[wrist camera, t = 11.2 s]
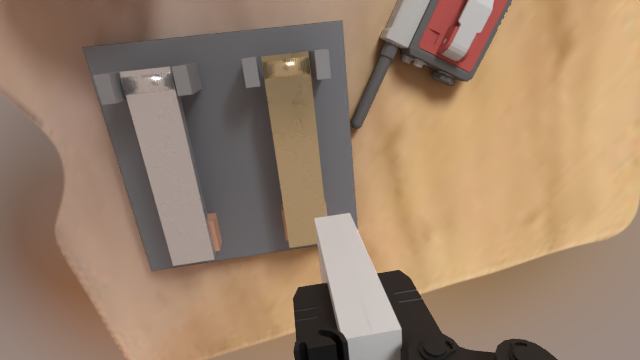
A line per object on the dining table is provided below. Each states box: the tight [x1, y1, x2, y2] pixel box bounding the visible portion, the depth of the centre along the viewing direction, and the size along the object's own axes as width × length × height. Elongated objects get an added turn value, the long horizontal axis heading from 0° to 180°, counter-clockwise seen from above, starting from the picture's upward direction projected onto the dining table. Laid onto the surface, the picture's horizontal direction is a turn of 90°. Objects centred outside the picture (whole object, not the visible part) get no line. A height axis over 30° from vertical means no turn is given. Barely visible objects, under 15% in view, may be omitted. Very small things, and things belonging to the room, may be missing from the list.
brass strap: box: [261, 51, 326, 248], centre depth 30 cm, size 16×4×2 cm, turn 6°
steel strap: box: [119, 66, 216, 266], centre depth 29 cm, size 16×4×2 cm, turn 6°
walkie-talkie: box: [351, 0, 512, 129], centre depth 31 cm, size 9×4×20 cm
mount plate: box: [83, 20, 358, 271], centre depth 31 cm, size 20×20×6 cm
